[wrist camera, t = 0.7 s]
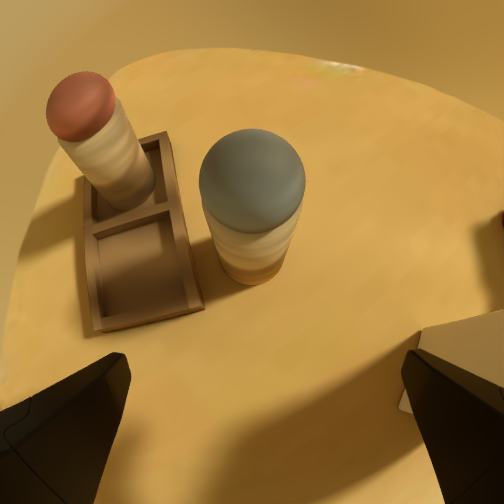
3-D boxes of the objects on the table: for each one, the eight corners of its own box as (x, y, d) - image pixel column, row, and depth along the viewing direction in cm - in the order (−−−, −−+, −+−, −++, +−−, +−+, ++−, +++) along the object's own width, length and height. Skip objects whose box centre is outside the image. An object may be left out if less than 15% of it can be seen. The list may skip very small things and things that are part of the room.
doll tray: (205, 309, 21) (200, 305, 19) (105, 332, 20) (93, 330, 18) (171, 143, 26) (166, 130, 24) (93, 169, 25) (85, 159, 24)
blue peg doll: (282, 287, 22) (319, 209, 10) (216, 282, 22) (176, 200, 10) (284, 226, 23) (313, 110, 11) (223, 222, 23) (200, 104, 11)
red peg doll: (148, 211, 23) (79, 102, 11) (99, 210, 23) (19, 118, 11) (161, 163, 24) (115, 49, 12) (114, 164, 25) (56, 66, 13)
